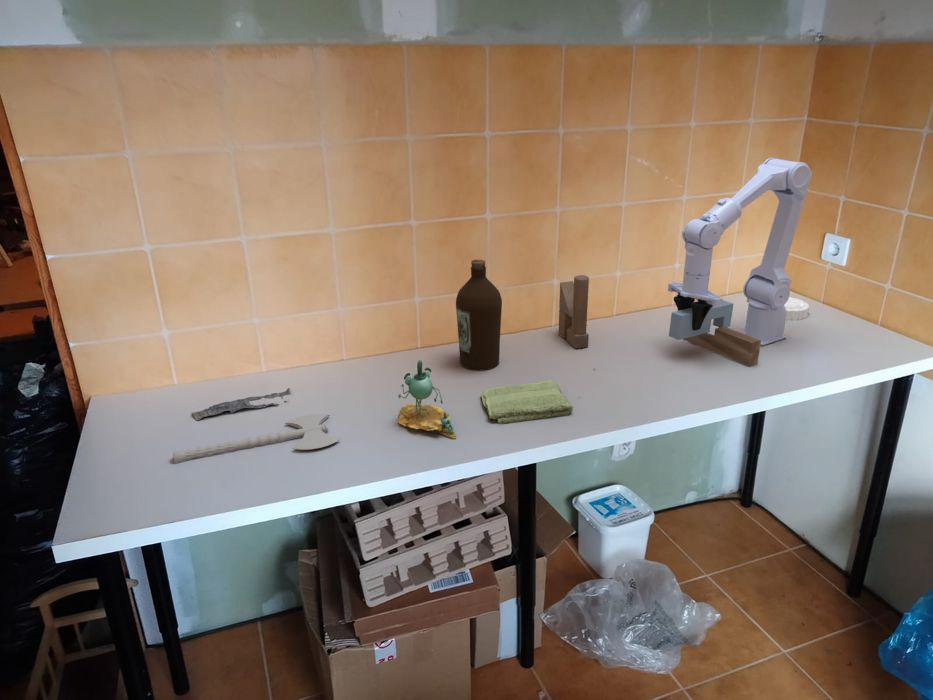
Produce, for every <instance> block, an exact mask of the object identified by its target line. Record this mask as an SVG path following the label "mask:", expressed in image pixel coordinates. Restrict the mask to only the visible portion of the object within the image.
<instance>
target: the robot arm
mask: <svg viewBox="0 0 933 700" xmlns="http://www.w3.org/2000/svg"><path fill="white" fill-rule="evenodd" d="M812 177H813V173H812V171H811V169H810V167H809V165H808V164H807V163H806V162H804V161H803V162H802V161H793V160H792V161H791V160H786V159H781V158H776V157H770V158H767V159H766V160H765V161H764V162H763V163H761V164H760V165H758V167H757V169H756V174H754V175H753V177H752V178H751V179H749V180H748V181H747V183H746V184H744V185H743V187H741V188H740V190H738V191H737V192H736V193H735V194H734V195H733V196H732V197H731V198H730V197H724V198H720V199H719V200H718V201H717V203H716V204H715V205H714V206H712V207H711V208H710V209H709V210H708V211H707V212H706V213H703V214H702V216H701V217H699V218H694V219H692V220H690V221H688V223H687V224H686V225H685V227H684V229H683V231H682V232H681V236H682V239H683V241H684V249H685V260H684V266H683V267H684V268H683V269H684V270H683V277H682V279H683V280H682V283H680V282H675V281H672V282H669V283H668V287H667V291H668V292H674V293H677V295H676V296H674V297H673V301H674V303H675V306H676V308H677V311H679V310H684V309H688V308H692V313H693V321H692V330H694V331H695V330H699V329H700V328H701V326H702V323H703V321H704V319H705V317H706V315H707V313H708V312H709V310H710V309H711V308H712V307H719V306H722V301H723V299H724V298H723V297H720V296H718V295H716V294H715V293H713V292H712V291H710V290H709V283H710V276H711V275H710V274H711V268H712V259H713V258H712V257H713V251H714V250H713V249H714V247H715V246H717V245H718V243H719V242H720V240H721V237H722V236H723V235H724V233H725V231H726V230H727V229H728V228H730V226H732V225H733V224H734V223H735V222H737V220H740V218H741V217H742V211H743V210H744V208H746V207H747V206H748V205H750V204H751V203H752V202H754V201H755V200H756V199H758V198H759V197H761V196H762V195H763V194H765V193H767V191H772V192H773V194H774V195H775V197H776V199H778V204H777V207H776V211H775V215H774V218H773V222H772V225H771V228H770V232H769V235H768V239H767V243H766V246H765V249H764V253H763V256H762V260H761V262H760V264H759V265H758V266H756V267H754V268H752V269H751V270H750V273H749V276H748V278H746V281H745V282H744V285H743V295H744V296H745V297H746V302H747V303H748V307H747V311H746V313H747V314H746V319H745V325H744V331H743V332H741V333H743V334H746V335H749V336H751V337H754V338H757V339H759V340H761V344H760V346H762V347H763V346H765V345H769V344H771V343H775V342H777V341H780V340H784V339H786V338H787V336H786V335H784V331H785V326H786V325H785V324H786V321H787V320H786V314H787V313H786V309H785V307H784V305H785V303H786V302H787V301H788V299H789V297H790V295H791V291H790V290H791V289H790V288H791V287H790V286H791V283H792V279H791V277H790V276H789V274H788V272H787V271H786V269H785V268H786V264H787V260H788V258H789V255H790V252H791V248H792V245H793V241H794V239H795V234H796V231H797V228H798V224H799V221H800V218H801V214H802V212H803V208H804V204H805V201H806V198H807V195H808V194H807V193H808V189H809V187H810V184H811V180H812Z"/></svg>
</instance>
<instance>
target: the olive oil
mask: <svg viewBox="0 0 933 700" xmlns="http://www.w3.org/2000/svg"><path fill="white" fill-rule="evenodd" d="M470 263H471V264H470V265H471V267H470V278H469V279H468V280H467V281H466V282H465V283H464V285H462V286H461V288H460V289H459V290H458V292H457V295H456V299H455V311H456V322H457V323H456V325H457V335H458V350H459V353H458V354H459V364H460V365H461V366H462V367H463V368H464V369H468V370H472V371H487V370H491V369H494V368H496V367H497V366H498V365H499V364H500V355H501V354H500V353H501V352H500V349H501V347H500V346H501V326H502V325H501V324H502V322H501V321H502V310H503V309H502V308H503V307H502V306H503V300H502V296H501V293H500V291H499V289H498V288H497V287H496V286H495V285H494V284H493V282H491V281H490V280H489V279H488V278H487V275H486V274H487V267H486V260H483V259H473V260H471V262H470Z"/></svg>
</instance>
